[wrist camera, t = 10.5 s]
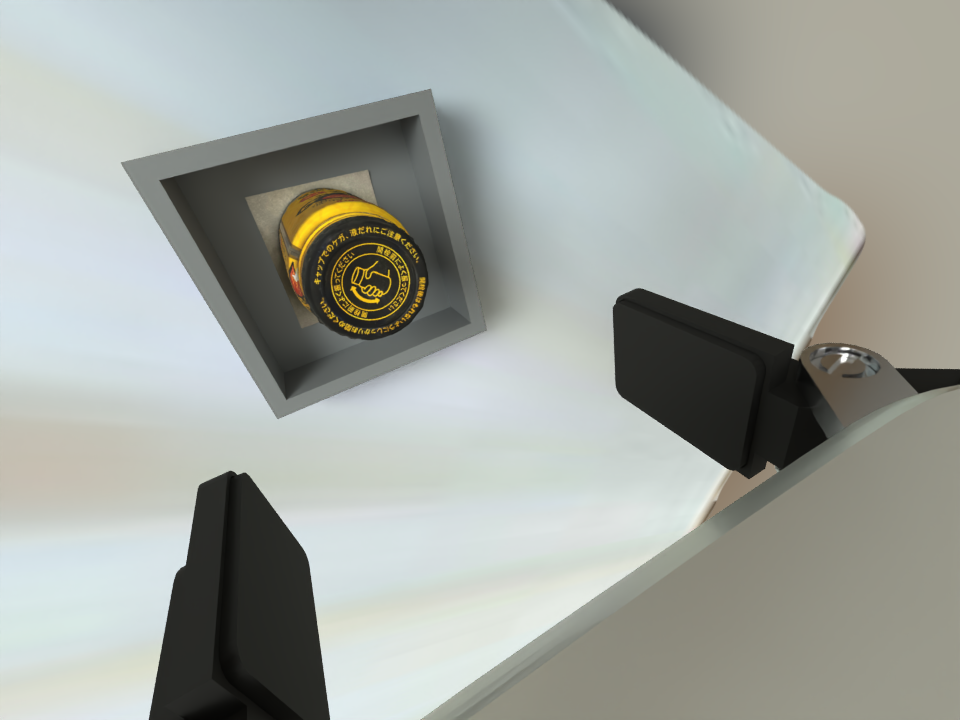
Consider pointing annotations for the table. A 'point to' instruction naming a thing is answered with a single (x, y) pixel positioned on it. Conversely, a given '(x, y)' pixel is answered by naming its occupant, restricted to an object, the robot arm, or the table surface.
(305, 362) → the box
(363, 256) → the condiment
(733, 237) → the table surface
